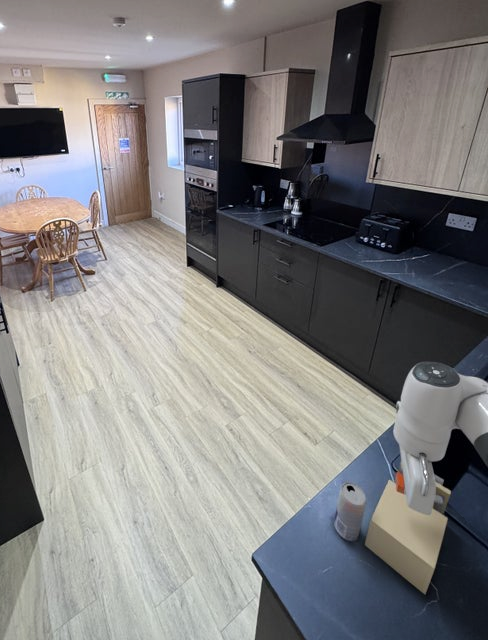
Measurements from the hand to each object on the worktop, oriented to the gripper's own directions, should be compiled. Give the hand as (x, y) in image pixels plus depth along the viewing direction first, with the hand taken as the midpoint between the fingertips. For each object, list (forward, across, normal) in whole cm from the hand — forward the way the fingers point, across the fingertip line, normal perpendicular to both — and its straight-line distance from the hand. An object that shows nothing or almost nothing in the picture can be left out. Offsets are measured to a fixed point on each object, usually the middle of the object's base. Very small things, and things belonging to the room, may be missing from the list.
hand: (406, 483), depth 70 cm
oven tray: (+16, +9, -5) cm, 19 cm away
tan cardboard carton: (+17, -2, -2) cm, 17 cm away
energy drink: (+17, -4, +10) cm, 20 cm away
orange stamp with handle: (+2, 0, -2) cm, 3 cm away
